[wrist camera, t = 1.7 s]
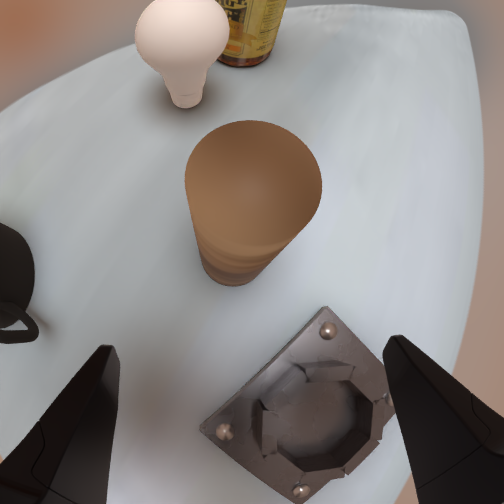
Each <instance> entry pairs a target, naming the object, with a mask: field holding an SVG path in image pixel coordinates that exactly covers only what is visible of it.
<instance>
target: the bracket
mask: <svg viewBox="0 0 504 504" xmlns="http://www.w3.org/2000/svg"><path fill="white" fill-rule="evenodd" d="M395 413H396V412H395V409H394V405H393V402H392V399H391V395H390V391H389V386H388V381H387V376H386V371H385V366H384V365H383V364H382V363H381V362H380V361H379V360H378V359H377V358H376V357H375V356H374V355H373V353H372V352H371V351H370V350H369V349H368V348H367V347H366V346H365V345H364V344H363V343H362V342H361V341H360V340H359V339H358V338H357V336H356V335H355V334H354V333H353V332H352V331H351V330H350V329H349V328H348V327H347V326H346V325H345V324H344V323H343V322H342V321H341V320H340V319H339V317H338V316H337V315H336V314H335V313H334V312H333V311H332V310H331V309H330V308H329V307H328V306H325V307H322V308H321V309H320V310H319V312H318V313H317V314H316V315H315V316H314V317H313V318H312V319H311V320H310V321H309V322H308V323H307V324H306V325H305V326H304V327H303V328H302V329H301V331H300V332H299V333H298V334H297V335H296V336H295V337H294V338H293V339H292V340H291V341H290V342H289V343H288V344H287V345H286V346H285V347H284V348H283V349H282V350H281V351H280V352H279V353H278V354H277V355H276V356H275V357H274V358H273V359H272V360H271V361H270V362H269V363H268V364H267V365H266V366H265V367H264V368H263V369H262V370H260V371H259V372H258V373H257V374H256V375H255V376H254V377H253V378H252V379H251V380H250V381H249V382H248V383H247V384H246V385H245V386H244V387H243V388H241V389H240V390H239V391H238V392H237V393H236V394H235V395H234V396H233V397H232V398H231V399H229V400H228V401H227V402H226V403H225V404H224V405H223V406H222V407H221V408H220V409H218V410H217V411H216V412H215V413H214V414H213V415H212V416H210V417H209V418H208V419H207V420H206V421H205V422H204V423H202V424H201V425H200V429H199V430H200V431H201V432H202V433H203V434H204V435H205V436H206V437H208V438H209V439H210V440H211V441H212V442H213V443H214V444H216V445H217V446H218V447H219V448H220V449H222V450H223V451H224V452H225V453H226V454H228V455H229V456H230V457H231V458H233V459H234V460H235V461H236V462H238V463H239V464H240V465H241V466H243V467H244V468H245V469H247V470H248V471H249V472H251V473H252V474H253V475H255V476H256V477H257V478H259V479H260V480H261V481H263V482H264V483H265V484H267V485H268V486H270V487H271V488H273V489H274V490H275V491H277V492H278V493H280V494H281V495H283V496H284V497H286V498H287V499H289V500H290V501H292V502H293V503H295V504H303V503H304V502H306V501H307V500H308V499H309V498H310V497H312V496H313V495H314V494H315V493H316V492H318V491H319V490H320V489H321V488H322V487H323V486H324V485H326V484H327V483H328V482H329V481H330V480H332V479H338V478H343V477H344V476H345V473H346V474H347V475H349V474H350V473H351V472H352V471H353V470H354V469H355V468H356V467H357V466H358V465H359V464H360V463H361V462H362V461H363V460H364V459H365V458H366V457H367V456H368V455H369V454H370V453H371V452H372V451H373V450H374V449H375V448H376V447H377V446H378V445H379V444H380V443H379V442H378V441H377V440H381V439H382V432H383V427H384V425H385V424H386V423H387V422H388V421H389V420H390V419H391V417H392V416H393V415H394V414H395Z"/></svg>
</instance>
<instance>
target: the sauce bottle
mask: <svg viewBox="0 0 504 504" xmlns="http://www.w3.org/2000/svg"><path fill="white" fill-rule="evenodd" d="M215 1H216V2H217V3H218V4H219V5H220V6H221V7H222V8H223V10H224V11H225V13H226V15H227V18H228V22H229V28H230V30H229V39H228V42H227V44H226V47H225V49H224V51H223V52H222V53H221V55H220V56H219V57H218V58H217V59H219V60H220V61H222V62H225V63H226V64H228V65H231V66H237V67H238V66H251V65H255V64H258V63H260V62H262V61H263V60H264V59H266V57H267V56H268V55H269V54H270V52H271V51H272V47H273V46H274V43H275V39H276V36H277V32H278V29H279V26H280V22H281V19H282V15H283V12H284V8H285V5H286V1H287V0H215Z"/></svg>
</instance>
